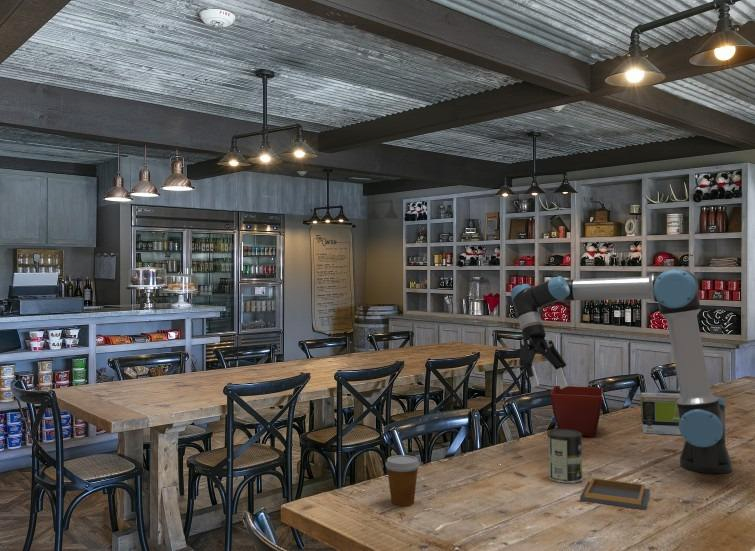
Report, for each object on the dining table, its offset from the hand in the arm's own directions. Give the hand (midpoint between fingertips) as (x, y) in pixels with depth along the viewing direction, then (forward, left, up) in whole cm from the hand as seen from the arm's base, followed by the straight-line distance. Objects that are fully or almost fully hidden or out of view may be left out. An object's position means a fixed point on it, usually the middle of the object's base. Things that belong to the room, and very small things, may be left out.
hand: (550, 387), depth 214 cm
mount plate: (-22, +21, -26) cm, 40 cm away
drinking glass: (-32, -90, -26) cm, 99 cm away
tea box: (-30, -65, -26) cm, 76 cm away
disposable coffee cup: (+31, +50, -26) cm, 64 cm away
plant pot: (0, -50, -26) cm, 57 cm away
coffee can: (-6, +10, -26) cm, 29 cm away
